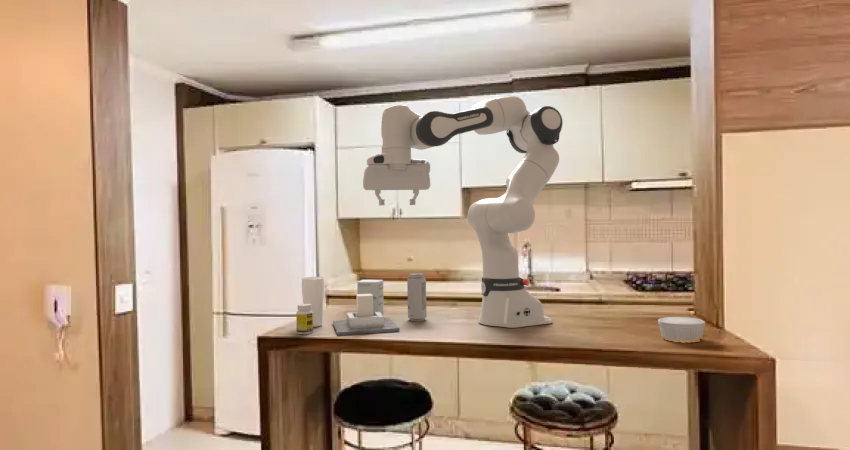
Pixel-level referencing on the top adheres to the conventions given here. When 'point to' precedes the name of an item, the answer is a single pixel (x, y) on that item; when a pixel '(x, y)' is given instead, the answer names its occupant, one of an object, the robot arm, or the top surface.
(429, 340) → the top surface
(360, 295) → the small white box
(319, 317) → the drinking glass
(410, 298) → the energy drink can
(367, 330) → the dock socket
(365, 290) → the supplement box
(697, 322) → the ramekin
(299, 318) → the supplement bottle
